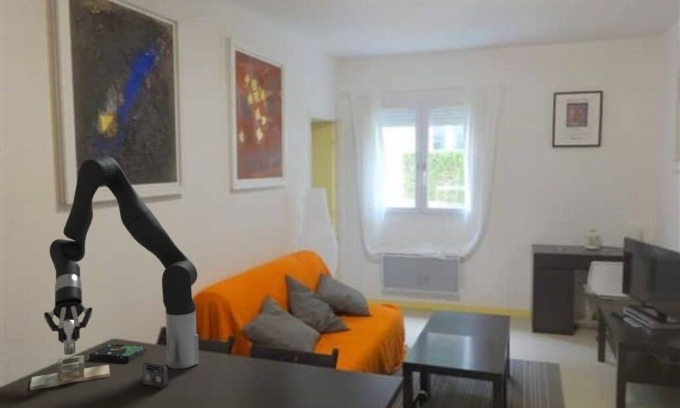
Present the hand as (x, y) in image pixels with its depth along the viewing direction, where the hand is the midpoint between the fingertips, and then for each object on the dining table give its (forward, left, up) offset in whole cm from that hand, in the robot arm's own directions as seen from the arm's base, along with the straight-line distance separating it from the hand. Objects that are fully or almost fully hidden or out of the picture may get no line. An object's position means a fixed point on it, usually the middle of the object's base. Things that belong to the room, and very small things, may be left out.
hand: (69, 340), depth 153 cm
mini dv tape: (-22, +15, -13) cm, 30 cm away
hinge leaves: (0, -2, -12) cm, 12 cm away
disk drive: (-14, -16, -13) cm, 25 cm away
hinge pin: (0, -2, -4) cm, 5 cm away
